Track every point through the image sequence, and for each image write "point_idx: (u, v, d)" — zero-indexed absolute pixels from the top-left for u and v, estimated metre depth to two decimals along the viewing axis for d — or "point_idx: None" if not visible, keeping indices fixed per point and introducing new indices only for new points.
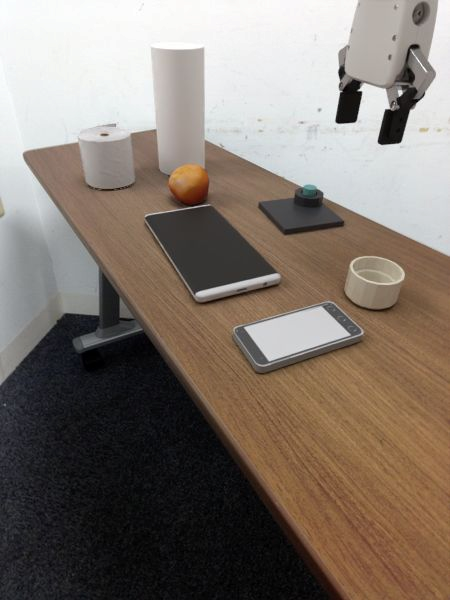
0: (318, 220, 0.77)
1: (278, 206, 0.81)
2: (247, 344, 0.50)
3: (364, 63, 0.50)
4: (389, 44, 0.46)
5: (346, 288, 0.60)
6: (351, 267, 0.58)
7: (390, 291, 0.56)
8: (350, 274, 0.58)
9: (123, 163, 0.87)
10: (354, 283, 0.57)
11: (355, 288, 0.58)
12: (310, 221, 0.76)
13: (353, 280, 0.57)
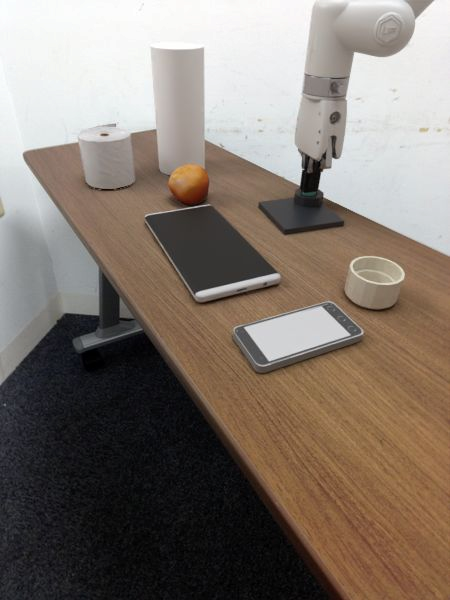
0: (318, 220, 0.77)
1: (278, 206, 0.81)
2: (247, 344, 0.50)
3: (304, 142, 0.76)
4: (317, 134, 0.72)
5: (346, 288, 0.60)
6: (351, 267, 0.58)
7: (390, 291, 0.56)
8: (350, 274, 0.58)
9: (123, 163, 0.87)
10: (354, 283, 0.57)
11: (355, 288, 0.58)
12: (310, 221, 0.76)
13: (353, 280, 0.57)
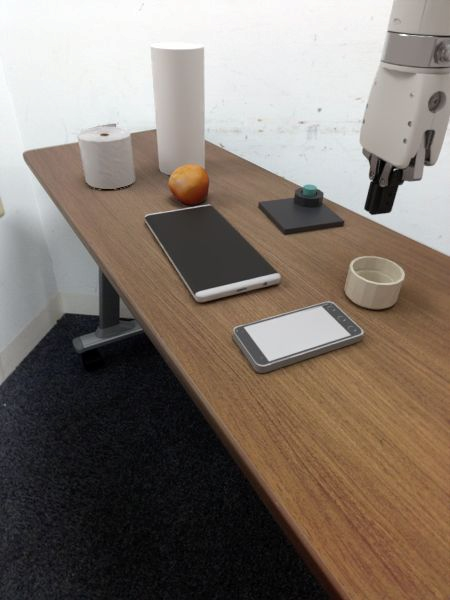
0: (318, 220, 0.77)
1: (278, 206, 0.81)
2: (247, 344, 0.50)
3: (379, 140, 0.50)
4: (404, 128, 0.46)
5: (346, 288, 0.60)
6: (351, 267, 0.58)
7: (390, 291, 0.56)
8: (350, 274, 0.58)
9: (123, 163, 0.87)
10: (354, 283, 0.57)
11: (355, 288, 0.58)
12: (310, 221, 0.76)
13: (353, 280, 0.57)
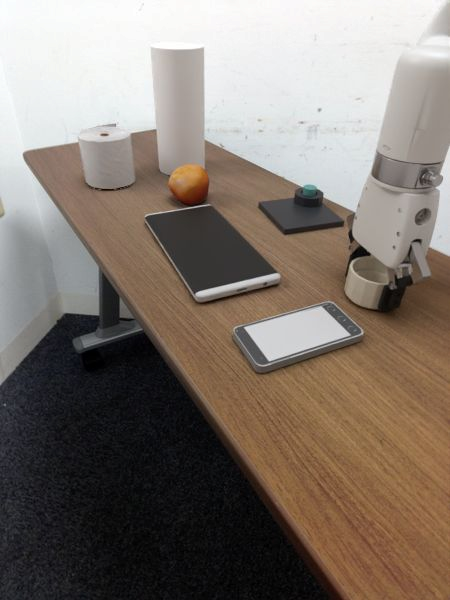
0: (318, 220, 0.77)
1: (278, 206, 0.81)
2: (247, 344, 0.50)
3: (370, 240, 0.55)
4: (393, 237, 0.50)
5: (346, 288, 0.60)
6: (351, 267, 0.58)
7: None
8: (350, 274, 0.58)
9: (123, 163, 0.87)
10: (354, 283, 0.57)
11: (355, 288, 0.58)
12: (310, 221, 0.76)
13: (353, 280, 0.57)
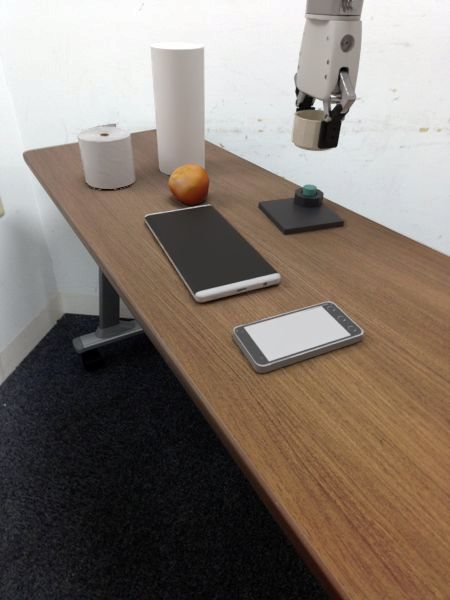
0: (318, 220, 0.77)
1: (278, 206, 0.81)
2: (247, 344, 0.50)
3: (309, 80, 0.62)
4: (324, 66, 0.58)
5: (292, 136, 0.68)
6: (295, 114, 0.66)
7: None
8: (294, 119, 0.66)
9: (123, 163, 0.87)
10: (297, 126, 0.65)
11: (298, 130, 0.65)
12: (310, 221, 0.76)
13: (296, 123, 0.65)
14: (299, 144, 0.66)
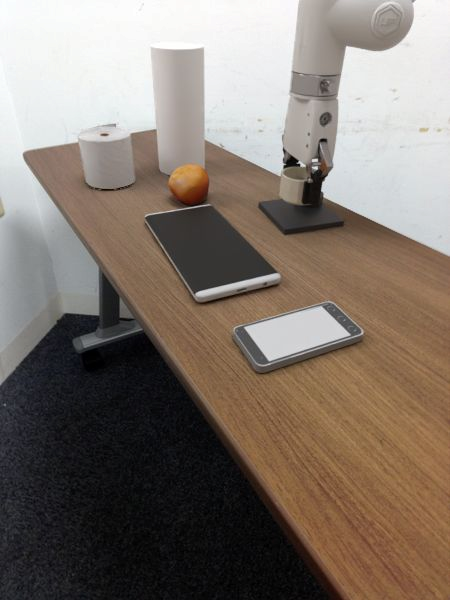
0: (318, 220, 0.77)
1: (278, 206, 0.81)
2: (247, 344, 0.50)
3: (293, 145, 0.70)
4: (306, 137, 0.66)
5: (279, 190, 0.76)
6: (282, 172, 0.74)
7: None
8: (281, 177, 0.74)
9: (123, 163, 0.87)
10: (283, 183, 0.73)
11: (284, 187, 0.73)
12: (310, 221, 0.76)
13: (283, 181, 0.73)
14: (285, 199, 0.74)
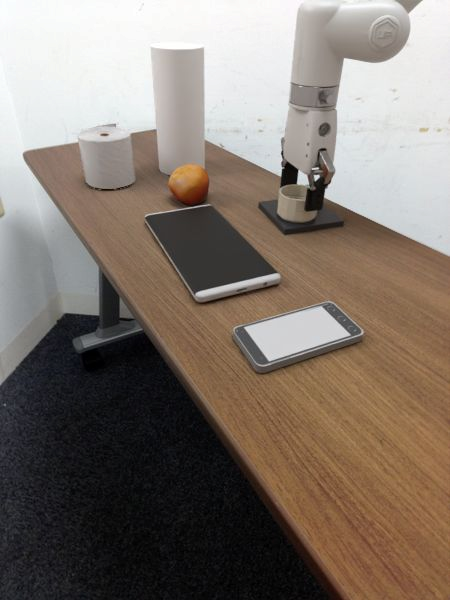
0: (318, 220, 0.77)
1: None
2: (247, 344, 0.50)
3: (293, 155, 0.71)
4: (305, 147, 0.67)
5: (277, 208, 0.78)
6: (280, 190, 0.76)
7: None
8: (279, 195, 0.76)
9: (123, 163, 0.87)
10: (281, 202, 0.75)
11: (282, 206, 0.75)
12: (310, 221, 0.76)
13: (280, 199, 0.75)
14: (283, 217, 0.76)
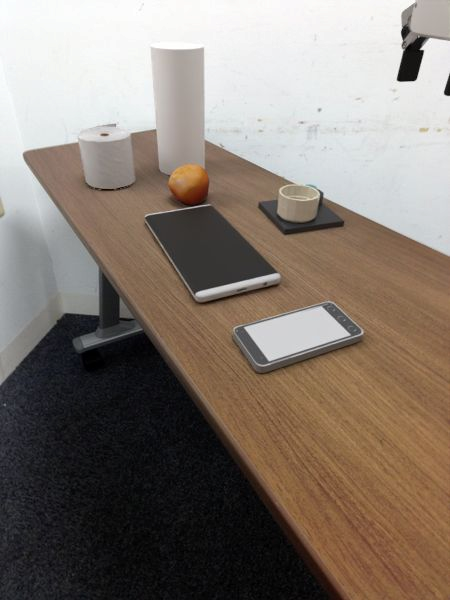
0: (318, 220, 0.77)
1: None
2: (247, 344, 0.50)
3: (433, 18, 0.54)
4: None
5: (277, 208, 0.78)
6: (280, 190, 0.76)
7: (307, 206, 0.74)
8: (279, 195, 0.76)
9: (123, 163, 0.87)
10: (281, 202, 0.75)
11: (282, 206, 0.75)
12: (310, 221, 0.76)
13: (280, 199, 0.75)
14: (283, 217, 0.76)
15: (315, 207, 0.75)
